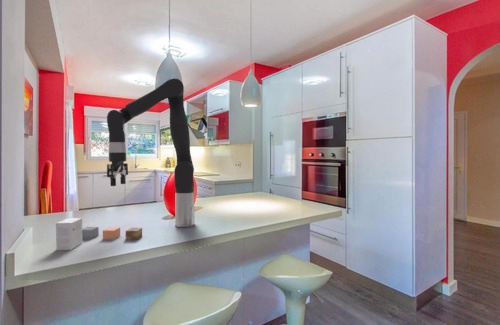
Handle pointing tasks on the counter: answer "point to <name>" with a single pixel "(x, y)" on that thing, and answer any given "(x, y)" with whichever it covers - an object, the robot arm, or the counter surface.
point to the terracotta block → (111, 233)
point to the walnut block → (133, 233)
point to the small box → (68, 233)
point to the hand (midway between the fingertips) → (118, 185)
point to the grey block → (90, 232)
